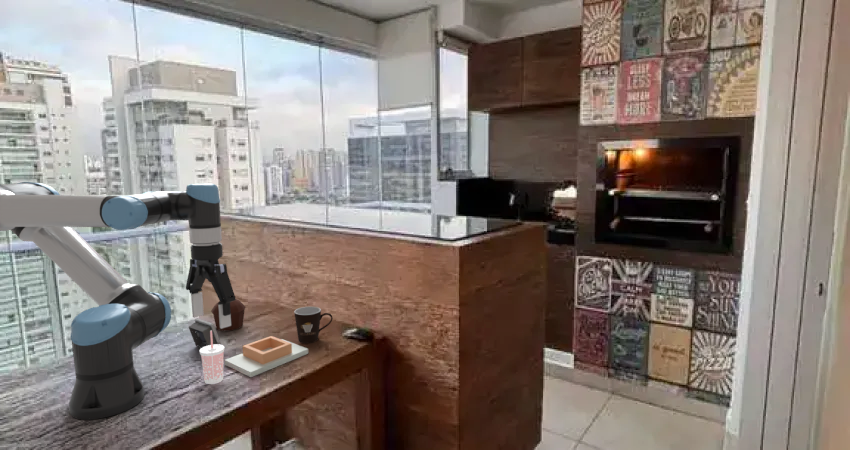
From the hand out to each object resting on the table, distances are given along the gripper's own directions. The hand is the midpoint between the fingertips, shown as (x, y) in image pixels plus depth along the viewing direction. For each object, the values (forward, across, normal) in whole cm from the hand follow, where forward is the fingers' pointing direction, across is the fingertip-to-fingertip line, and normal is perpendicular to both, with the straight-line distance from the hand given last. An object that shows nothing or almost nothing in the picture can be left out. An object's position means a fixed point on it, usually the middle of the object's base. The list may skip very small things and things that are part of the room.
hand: (211, 321), depth 124 cm
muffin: (+17, +34, -25) cm, 46 cm away
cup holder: (+17, 0, -17) cm, 24 cm away
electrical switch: (+17, +22, -10) cm, 30 cm away
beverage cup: (+17, 0, 0) cm, 17 cm away
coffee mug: (+17, +1, -35) cm, 39 cm away
